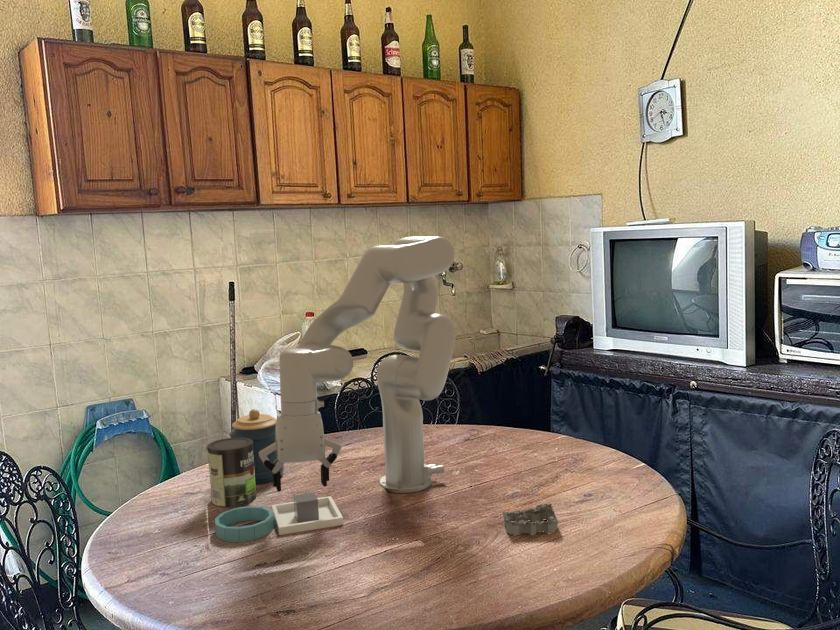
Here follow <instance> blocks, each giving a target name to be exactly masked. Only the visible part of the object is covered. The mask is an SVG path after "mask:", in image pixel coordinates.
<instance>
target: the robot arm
mask: <svg viewBox="0 0 840 630" xmlns="http://www.w3.org/2000/svg"><path fill="white" fill-rule="evenodd" d="M455 254H456V252H455V248H454V245H453V244H452V242H451V241H450V240H449V239H447V238H446V237H443V236H436V235H435V236H430V235H429V236H428V235H427V236H406V237H402V238H400V239H398V240H396V241H395V242H394V243H393V244H392V245H391V244H388V245H387V244H385V245H375V246H372V247H370V248H368V249H367V250H366V251H365V252H364V254H363V255H362V257H361V258H360V261H359V263H358V264H357V266H356V268H355V270H354V272H353V273H352V275H351V277H350V278H349V280H348V283H347V284H346V286H345V288H344V290H343V292H341V295H340V297H339V298H338V299H337V300H335V301H334V302H333V303H332V304H330V305H329V306H328V307H327V308H326V309H325V310H323V312H321V313H320V315H318V316H317V317H316V318H315V319H314V320H313V321H312V322H311V324H310V325H309V327H307V330H306V331H305V333H304V335H303V337H302V338H301V340H300V343H299V344H298V346H297V348H290V349H285V350H283V351H281V353H279V360H278V361H279V363H278V364H279V387H280V388H279V389H280V413H278V414H277V416H276V419H277V420H276V430H275V442H274V443H273V444H271V445H269V446H268V447H266V448H265V449H263V450H261V451H260V452H259V453H258V454H259V457H260V458H261V460H262V462H263V463H264V465H265V466H266V467H267V468H268V469H270V470H271V471H272V472H273V481H272V486H273V488H276V491H277V492H278V493H280V492H282V481H281V480H282V479H281V477H282V476H281V474H280V471H279V470H280V468H281V467H282V466H283V464H287V465H288V464H296V463H297V464H299V463H305V462H306V463H307V462H315V461H320V463H321V465H320V482H321V485H322V486H323V487H324V488H325V487H328V482H330V468H331V465H332V464H333V463H334V462H335V461H336V459H337V458H338V455H339V453H340V452H341V449H342V445H341V444H340V443H337V442H336V441H333V440H331V439H329V438H326V437H325V433H324V432H325V431H324V423H323V419H322V414H321V412H320V411H319V409H320V408H324V407H325V401H324V400H320V399H318V390H317V389H318V388H317V386H318V385H317V383H318V382H337V381H341V380H343V379H345V378H347V377H348V376H349V375H350V374H351V372H353V371H352V370H353V369H354V358H353V356H352V354H351V353H350V351H349V350H348V349H347V348H344V347H342V346H338V345H333V343H334V342H335V340H337V338H338V337H340V335H341V334H343V333H344V332H345V331H347V330H349V329H351V328H353V327H355V326H359V325H360V324H362V323H364V322H366V321H368V320H370V319H371V318H373V317H374V315H375V314H376V312H377V310H378V307H380V305H381V302H382V300H383V298H384V296H385V294H386V293H387V290H388V289H389V287H390V285H391V284H403V294H402V298H401V303H400V306H399V311H398V313H397V314H398V315H397V318H396V322H395V326H394V331H393V341H394V343H395V345H396V346H397V347H399V349H403V350H405V351H411V352H414V353H415V352H417V353H419V356H418V357H417V356H412V355H404V354H392V355H388V356H387V357H385V358H383V359H382V360H381V361H380V362H379V364H378V367H377V371H376V382H377V387H378V391H379V395H380V400H381V408H382V427H383V428H382V429H383V450H384V451H383V452H384V453H383V454H384V471H385V472H384V473H385V475H384V476H382V477H381V478H379V482H378V483H379V485H380V487H382V488H383V489H384V490H385V491H387V492H390V493H395V494H407V493H416V492H421V491H423V490H426V489H428V488H429V487H430V486H431V485H432V476H433V475H439V474H440V475H441V474H444V473H445V467H444V465H436V464H435V463H433V464H426V462H425V449H424V448H425V447H424V444H425V443H424V423H423V421H424V415H423V409H422V405H421V401H432V400H434V399H435V400H436V399H437V398H438V397H439V396H440V394H441V393H442V392H443V389H444V388H445V386H446V385H445V384H446V382H447V378H448V375H449V371H450V366H451V362H452V357H453V354H454V350H455V344H456V340H457V339H456V338H457V337H456V336H457V335H456V327H455V324H454V322H453V320H451V318H450V317H448V315H445V314H442V313H437V312H436V309H437V305H438V301H439V288H438V285H437V283H436V280H435V277H434V276H437V275H440V274H444V273H445V272H446V271H447V270H449V269H450V268H451V266H452V265H453V263H454V261H455ZM420 400H421V401H420ZM326 447H329V448H331V449H332V450H331V452H330V453H329V454H328V455H327V457H326V456H325V455H326ZM273 451H275V455H276V457H277V459H276V460H275V461H274V463H272V462H271V461H270V460H269V459H268V458H267V455H268V454H270V453H272V452H273Z"/></svg>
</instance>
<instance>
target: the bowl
mask: <svg viewBox="0 0 840 630" xmlns="http://www.w3.org/2000/svg"><path fill="white" fill-rule="evenodd" d="M243 521H260V522H258V523H255V524H251V525H242V526H229V525H232V524H235V523H237V522H243ZM274 522H275V519H274V516H273V513H272V509H271V508H268V507H265V506H259V505H258V506H257V505H255V506H254V505H247V506H238V507H233V508H231V509H229V510H225V511H223V512H221V513H220V514H219V515H218V516H216V517H215V518H214V524H215V525H214V526H215V536H216V538H217V539H220V540H222V541H224V542H229V543H230V542H234V543H235V542H236V543H240V542H242V543H243V542H248V541H253V540H258V539H260V538H262V537H264V536H268V535H269V534H270V533H271V532H272V531H273V529H275V524H274Z"/></svg>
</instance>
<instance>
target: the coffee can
mask: <svg viewBox="0 0 840 630" xmlns="http://www.w3.org/2000/svg"><path fill="white" fill-rule="evenodd" d="M206 449H207V456H208V458H207V459H208V469H209V470H208V471H209V479H210V480H209V481H210V482H209V483H210V495H211V504H212V505H213V506H215V507H218V508H238V507H243V506H245V505H248V504H250V503H252V502H254V501H255V500H256V499H257V489H256V487H257V486H256V485H257V484H255V470H254V455H253V440H251V439H249V438H231V437H228V438H227V437H226V438H221V439H218V440H215V441H212V442H210V443H208V444H207V445H206Z"/></svg>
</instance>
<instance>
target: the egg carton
mask: <svg viewBox="0 0 840 630" xmlns="http://www.w3.org/2000/svg"><path fill="white" fill-rule="evenodd" d="M502 515H503V520H504V521H503V523H504V524H503V525H505V526H506V527H505V526H504V527H505V528H506V529H505V531H506V534H507V533H510V534H509V535H512V534H513V535H512V536H514V537H517V536H516V535H519V536H520V535H521V534H528V533H529V535H530V534H531V535H530V536H535V535H534V534H536V533H537V532H539V531H544V532H547V533H553V534H554V532H553V531H555V530H557V531H558V523H559V520H558V518H557V516H556V515H555V511H554V508H553V506H552V503H548V504H547V503H543V504H542V503H541V504H538V505H536V507H534V508H533V507H529V508H527V509H524V510H521V509H518V510H514V511H502ZM543 519H546V520H548V521H541V520H543ZM528 520H530V521H531V522H528ZM511 521H513V522H511ZM540 521H541V522H540ZM532 522H533V523H532ZM535 522H536V523H535ZM524 532H526V533H524ZM544 532H543V533H544ZM520 533H521V534H520ZM539 533H540V532H539ZM547 533H546V534H547ZM532 534H533V535H532ZM537 534H538V533H537ZM537 534H536V535H537Z"/></svg>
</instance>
